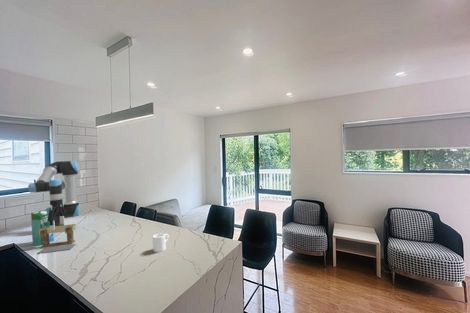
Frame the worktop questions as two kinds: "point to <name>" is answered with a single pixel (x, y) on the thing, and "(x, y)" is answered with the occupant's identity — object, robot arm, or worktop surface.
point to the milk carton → (40, 226)
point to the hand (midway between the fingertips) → (57, 226)
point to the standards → (47, 243)
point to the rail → (58, 229)
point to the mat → (57, 248)
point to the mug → (159, 242)
